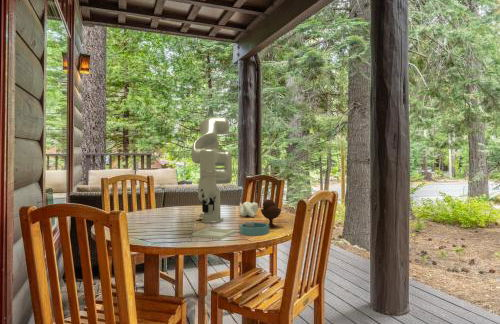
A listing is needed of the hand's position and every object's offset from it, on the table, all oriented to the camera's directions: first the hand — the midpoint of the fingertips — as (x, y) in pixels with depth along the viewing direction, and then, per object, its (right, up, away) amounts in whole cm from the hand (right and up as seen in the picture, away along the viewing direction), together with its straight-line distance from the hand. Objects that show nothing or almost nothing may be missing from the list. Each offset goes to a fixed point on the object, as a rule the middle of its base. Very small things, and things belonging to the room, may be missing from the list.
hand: (208, 211), depth 176 cm
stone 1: (0, -1, 0) cm, 1 cm away
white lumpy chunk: (+21, -11, +52) cm, 57 cm away
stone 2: (+20, -11, +3) cm, 23 cm away
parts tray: (+3, -12, -2) cm, 12 cm away
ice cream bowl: (+32, -11, +18) cm, 38 cm away
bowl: (+23, -11, +2) cm, 25 cm away
